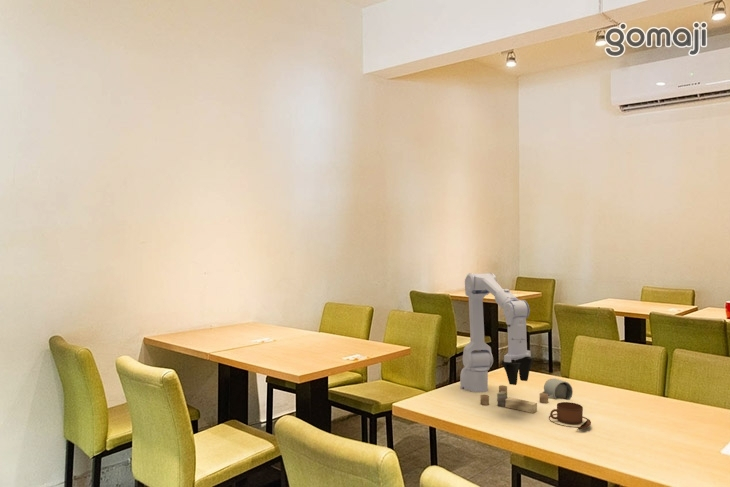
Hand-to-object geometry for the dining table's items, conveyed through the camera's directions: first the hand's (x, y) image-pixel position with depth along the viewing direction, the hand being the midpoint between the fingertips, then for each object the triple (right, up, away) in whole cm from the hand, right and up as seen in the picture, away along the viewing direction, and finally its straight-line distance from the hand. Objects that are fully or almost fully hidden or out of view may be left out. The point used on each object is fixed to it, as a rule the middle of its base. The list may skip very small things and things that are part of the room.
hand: (518, 382), depth 170 cm
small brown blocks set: (+2, -11, +11) cm, 16 cm away
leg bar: (+1, -10, +5) cm, 11 cm away
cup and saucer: (+14, -12, -6) cm, 19 cm away
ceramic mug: (+18, -12, +19) cm, 29 cm away
